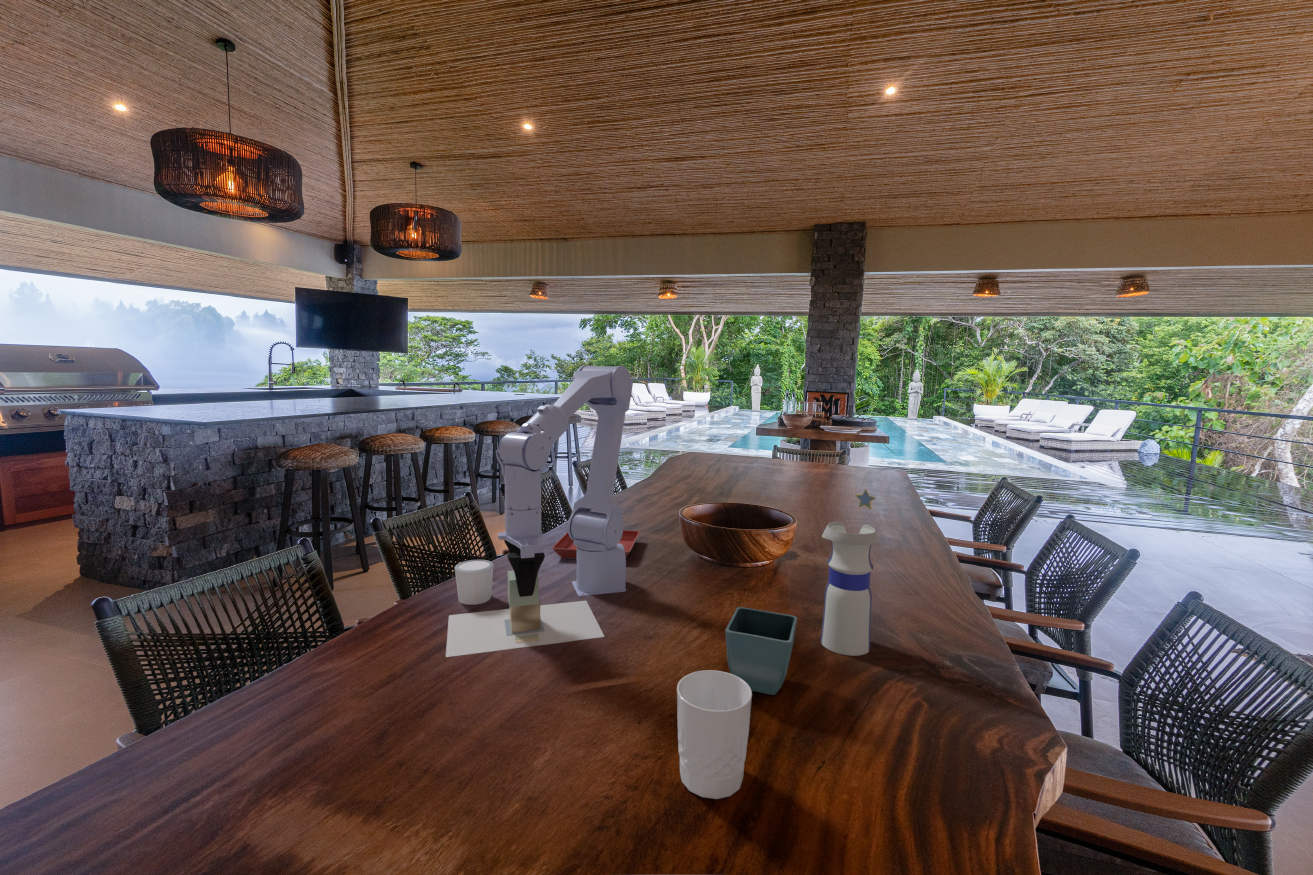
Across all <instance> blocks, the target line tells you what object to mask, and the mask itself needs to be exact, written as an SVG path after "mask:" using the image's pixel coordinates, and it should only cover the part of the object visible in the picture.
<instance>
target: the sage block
mask: <svg viewBox="0 0 1313 875" xmlns="http://www.w3.org/2000/svg"><path fill="white" fill-rule="evenodd" d="M539 582H540V581H539V575H538V574H537V579H536V584H535V589H534V593H533V595H532V596H525V597H520V596H519V593H518V589H517V583H516V577H515V573H514V570H513V569H512V570H507V599H508V600H507V601H508V605H509V608H510V607H514V606H524V605H533V604H539V601H540V598H539V596H540V594H539V593H540V591H539V590H540V588H539V587H540V585H539Z"/></svg>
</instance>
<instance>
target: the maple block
mask: <svg viewBox="0 0 1313 875" xmlns="http://www.w3.org/2000/svg"><path fill="white" fill-rule="evenodd" d="M540 605H541V601H540V600H539V604H533V605H524V606H514V607H510V606H509V609H510V626H511V632H512V633H515V632H523V631H531V630H540Z"/></svg>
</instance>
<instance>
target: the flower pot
mask: <svg viewBox="0 0 1313 875" xmlns="http://www.w3.org/2000/svg"><path fill="white" fill-rule="evenodd" d="M797 624H798V617H797V615H792V614H787V613H780V612H773V611H767V610H763V609H762V610H761V609H755V608H751V607H750V608H749V607H744V606H738V607H736V609H735V610H734V613H733V615H732V616H731V619H730V620H729V622H728V625H727V626H726V627H725V645H726V646H725V647H726V660H727V665H728V668H729V672H730V674H733V675H735V676H737V677H739V678H741V679H742V680H744V681H745V682H746V683H747V684H748V685H749V686H750V688H751V691H752V692H757V693H762V694H765V695H771V696H775V695H776V694H777V693H778V692H779V690H780V689H781V688H782V687H783V684H784V682H785V680H786V677H787V673H788V669H789V664H790V660H791V655H792V652H793V647H794V643H795V642H794V641H795V635H796V630H797Z"/></svg>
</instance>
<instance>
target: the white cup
mask: <svg viewBox="0 0 1313 875" xmlns="http://www.w3.org/2000/svg"><path fill="white" fill-rule="evenodd" d="M752 698H753V691H751V688H750V686H749V685H748V684H747V683H746V682H745V681H744V680H742V679H741V678H739V677H737V676H735V675H733V674H731V673H729V672H726V671H722V670H721V671H720V670H714V669H713V670H712V669H709V670H708V669H707V670H696V671H694V672H691V673H688V674H687V675H684V676H683V677H682V678H681V679H680V680H679V681H678V682H677V686H676V704H677V706H676V708H677V714H676V715H677V716H676V718H677V723H676V724H677V743H678V744H677V745H678V746H677V748H678V749H677V750H678V755H679V775H680V780H681V783H682V785H684V786H685V787H686V789H687V790H688V791H689V792H690V793H693V794H694V795H696V796H699V797H701V798H705V799H713V800H719V799H724V798H727V797H728V798H729V797H731V796H732V795H734V794H735V793H736V792H738V791H739V790H740V789H741V786H742V783H743V780H744V774H745V773H744V772H745V770H744V769H745V762H746V757H747V747H748V739H749V732H750V721H751V708H752Z"/></svg>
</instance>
